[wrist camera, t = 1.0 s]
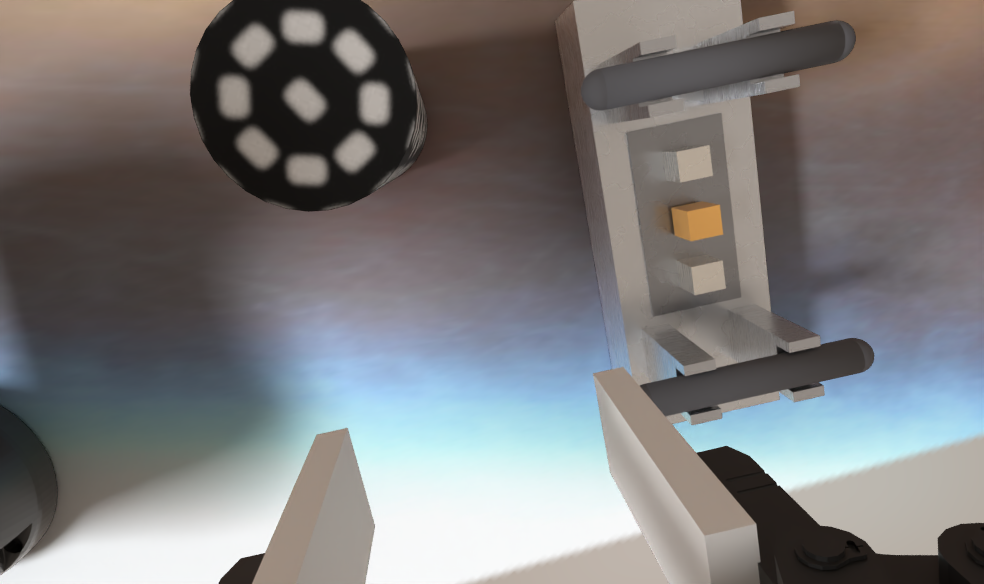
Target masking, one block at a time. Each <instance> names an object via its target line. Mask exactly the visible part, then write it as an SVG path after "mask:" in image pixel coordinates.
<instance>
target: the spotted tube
mask: <svg viewBox="0 0 984 584" xmlns="http://www.w3.org/2000/svg"><path fill="white" fill-rule="evenodd" d="M190 97H191V103H192V109H193V115H194V120H195V122H196V125H197V128H198V131H199V133H200V136H201V139H202V141H203V143H204V144H205V146H206V148H207V149H208V151H209V153H210V154H211V156H212V158H213V160H214V161H215V162H216V163H217V164H218V165H219V166H220V168H221V169H222V170H223V171H224V172H225V173H226V175H227V176H228V177H229V178H230V179H232V180H233V181H234V182H235V183H237V184H238V185H239V186H240V187H242V188H243V189H244V190H245V191H247V192H249V193H250V194H252V195H254V196H256V197H258V198H260V199H261V200H263V201H265V202H268V203H271V204H274V205H277V206H280V207H283V208H286V209H293V210H300V211H323V210H332V209H335V208H339V207H343V206H346V205H350V204H352V203H354V202H356V201H358V200H360V199H362V198H364V197H366V196H368V195H370V194H371V193H373V192H374V191H376V190H378V189H379V188H381V187H382V186H384V185H385V184H387V183H389V182H390V181H392V180H393V179H395V178H397V177H398V176H400V175H401V174H402V173H404V172H405V171H406V170H407V169H409V168H410V167H411V165H412V164H413V163H414V162H415V161H416V160H417V158H418V156H419V154H420V152H421V151H422V149H423V145H424V142H425V139H426V133H427V116H426V110H425V107H424V103H423V100H422V97H421V94H420V91H419V88H418V85H417V82H416V80H415V77H414V74H413V71H412V68H411V65H410V62H409V60H408V58H407V56H406V53H405V51H404V49H403V47H402V45H401V43H400V41H399V39H398V38H397V37H396V35H395V34H394V33H393V31H392V30H391V29H390V27H389V26H388V25H387V23H386V22H385V21H384V20H383V19H382V18H381V17H380V16H379V15H378V14H377V13H376V12H375V11H374V10H373V9H371V8H370V7H369V6H368V5H367V4H365V3H364V2H362V1H361V0H233V1H232V2H230V3H229V4H228V5H227V6H226V7H224V8H223V9H222V10H221V11H220V12H219V13H218V14H217V16H216V17H215V18H214V19H213V21H212V22H211V23H210V25H209V26H208V27H207V28H206V30H205V32H204V34H203V36H202V39H201V41H200V43H199V45H198V47H197V49H196V53H195V57H194V61H193V65H192V70H191V85H190Z"/></svg>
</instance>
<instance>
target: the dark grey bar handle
mask: <svg viewBox="0 0 984 584" xmlns="http://www.w3.org/2000/svg"><path fill="white" fill-rule="evenodd" d="M873 361H874V352H873V350H872V348H871V346H870V345H869V344H868V343H867V342H865V341H863V340H861V339H857V338H848V339H843V340H839V341H834V342H830V343H825V344H821V346H818V347H814V348H809V349H805V350H800V351H796V352H791V353H789V352H785V353H781V354H776V355H772V356H767V357H763V358H758V359H754V360H749V361H745V362H740V363H736V364H731V365H727V366H722V367H718V368H716V369H715V370H711V371H706V372H702V373H697V374H693V375H688V376H684V375H682V376H677V377H673V378H668V379H664V380H659V381H655V382H650V383H646V384H642V385H640V387H641V388H642V390H643V391H644V392H645V393H646V394H647V396H648V397H649V398H650V399H651V400H652V401H653V403H654V404H655V405H656V406H657V407H658V409H659V410H660V411H661V412H662V413H663V414H664V416H665V417H666V416H670V415H675V414H679V413H683V412H688V411H692V410H697V409H701V408H706V407H710V406H715V405H719V404H724V403H728V402H732V401H737V400H741V399H746V398H750V397H755V396H759V395H764V394H768V393H772V392H777V391H781V390H786V389H790V388H795V387H799V386H804V385H808V384H813V383H817V382H821V381H826V380H830V379H835V378H839V377H844V376H848V375H853V374H857V373H861V372H864V371H866V370H867V369H869V368H870V366H871V365H872V363H873Z"/></svg>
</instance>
